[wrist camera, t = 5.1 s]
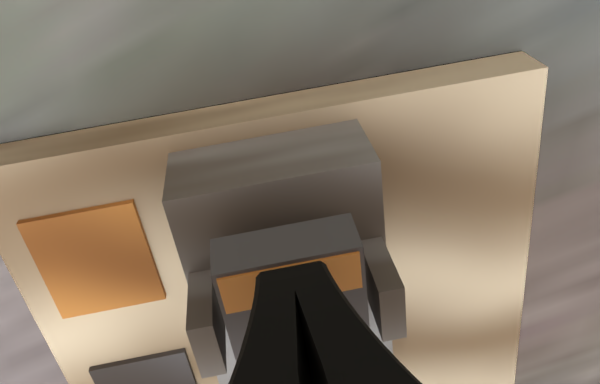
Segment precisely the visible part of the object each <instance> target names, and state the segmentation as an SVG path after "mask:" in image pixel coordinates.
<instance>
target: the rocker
mask: <svg viewBox="0 0 600 384" xmlns="http://www.w3.org/2000/svg"><path fill="white" fill-rule="evenodd" d="M315 261H322V262H323V263H325V264H326V265H327V268H328V270H329V271H330V273H331V275H332V277H333V278H334V280H335V282H336V283H337V285H338V286H339V288H340V289H341V291H342V292H343V294H344V295H345V297H346V298H347V299H348V301H349V302H350V304H351V305H352V306H353V308H354V309H355V310H356V312H357V313H358V314H359V315H360V317H361V318H362V319H363V320H364V321H365V323H366V324H367V325H368V326H369V328H370V325H369V312H368V299H367V286H366V274H365V261H364V248H363V244H362V241H361V239H360V236H359V233H358V231H357V228H356V225H355V223H354V220H353V217H352V215H351V213H346V214H340V215H335V216H330V217H325V218H319V219H314V220H309V221H304V222H298V223H293V224H288V225H283V226H277V227H272V228H267V229H261V230H256V231H251V232H246V233H240V234H235V235H230V236H225V237H219V238H214V239H210V270H211V279H212V282H213V286H214V289H215V292H216V296H217V299H218V303H219V306H220V309H221V313H222V316H223V319H224V323H225V326H226V330H227V333H228V336H229V340H230V343H231V346H232V350H233V353H234V356H235V360H236V362H237V359H238V356H239V353H240V349H241V346H242V342H243V339H244V336H245V332H246V329H247V325H248V321H249V317H250V313H251V308H252V304H253V298H254V292H255V282H256V277H257V275H258V274H259V273H260V272H263V271H268V270H273V269H278V268H284V267H289V266H294V265H299V264H304V263H310V262H315Z"/></svg>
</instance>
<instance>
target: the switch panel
mask: <svg viewBox="0 0 600 384" xmlns="http://www.w3.org/2000/svg"><path fill="white" fill-rule="evenodd" d="M547 74H548V67H547V66H545V65H544V64H542V63H541V62H539V61H537V60H536V59H534V58H533V57H531V56H529V55H528V54H526V53H525V52H523V51H519V52H514V53H508V54H503V55H497V56H491V57H486V58H480V59H475V60H469V61H463V62H458V63H452V64H447V65H441V66H435V67H430V68H424V69H418V70H413V71H407V72H402V73H396V74H390V75H385V76H379V77H374V78H368V79H362V80H357V81H351V82H346V83H340V84H334V85H329V86H323V87H318V88H312V89H306V90H301V91H295V92H290V93H284V94H278V95H273V96H267V97H261V98H256V99H250V100H245V101H239V102H233V103H228V104H222V105H217V106H211V107H205V108H200V109H194V110H189V111H183V112H177V113H172V114H166V115H161V116H155V117H149V118H144V119H138V120H133V121H127V122H121V123H116V124H110V125H104V126H99V127H93V128H88V129H82V130H76V131H71V132H65V133H60V134H54V135H48V136H43V137H37V138H32V139H26V140H20V141H15V142H9V143H4V144H0V255H1V257H2V259H3V261H4V263H5V265H6V266H7V268H8V270H9V272H10V274H11V276H12V278H13V280H14V282H15V283H16V285H17V287H18V289H19V291H20V293H21V295H22V297H23V298H24V300H25V302H26V304H27V306H28V308H29V310H30V312H31V314H32V315H33V317H34V319H35V321H36V323H37V325H38V327H39V329H40V331H41V332H42V334H43V336H44V338H45V340H46V342H47V344H48V346H49V348H50V349H51V351H52V353H53V355H54V357H55V359H56V361H57V363H58V364H59V366H60V368H61V370H62V372H63V374H64V376H65V378H66V380H67V381H68V383H69V384H228V383H229V381H230V378H231V375H232V373H233V370H234V367H235V364H236V360H235V356H234V353H233V350H232V346H231V343H230V340H229V336H228V333H227V330H226V326H225V323H224V319H223V316H222V313H221V309H220V306H219V303H218V299H217V296H216V292H215V289H214V286H213V282H212V279H211V270H210V239H214V238H219V237H225V236H230V235H235V234H240V233H246V232H251V231H256V230H261V229H267V228H272V227H277V226H283V225H288V224H293V223H298V222H304V221H309V220H314V219H319V218H325V217H330V216H335V215H340V214H346V213H351V215H352V217H353V220H354V223H355V225H356V228H357V231H358V233H359V236H360V239H361V241H362V244H363V248H364V261H365V274H366V286H367V299H368V312H369V325H370V329H371V330H372V331H373V332H374V334H375V335H376V336H377V337H378V338H379V339H380V341H381V342H382V343H383V344H384V345H385V346H386V347H387V348H388V349H389V350H390V351H391V353H392V354H393V355H394V356H395V357H396V358H397V359H398V360H399V361H400V362H401V363H402V364H403V365H404V366H405V367H406V368H407V369H408V370H409V371H410V372H411V373H412V374H413V375H414V376H415V377H416V378H417V379H418V380H419V381H420V382H421V383H422V384H514V382H515V372H516V363H517V354H518V344H519V335H520V326H521V316H522V307H523V298H524V288H525V279H526V270H527V260H528V251H529V242H530V232H531V223H532V214H533V204H534V195H535V186H536V176H537V167H538V158H539V149H540V139H541V130H542V121H543V111H544V102H545V93H546V83H547Z"/></svg>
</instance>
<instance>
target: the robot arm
mask: <svg viewBox="0 0 600 384" xmlns="http://www.w3.org/2000/svg"><path fill="white" fill-rule="evenodd" d="M228 384H422V383H421V382H420V381H419V380H418V379H417V378H416V377H415V376H414V375H413V374H412V373H411V372H410V371H409V370H408V369H407V368H406V367H405V366H404V365H403V364H402V363H401V362H400V361H399V360H398V359H397V358H396V357H395V356H394V355H393V354H392V353H391V351H390V350H389V349H388V348H387V347H386V346H385V345H384V344H383V343H382V342H381V341H380V339H379V338H378V337H377V336H376V335H375V334H374V332H373V331H372V330H371V329H370V328H369V326H368V325H367V324H366V323H365V321H364V320H363V319H362V318H361V317H360V315H359V314H358V313H357V312H356V310H355V309H354V308H353V306H352V305H351V304H350V302H349V301H348V299H347V298H346V297H345V295H344V294H343V292H342V291H341V289H340V288H339V286H338V285H337V283H336V282H335V280H334V278H333V277H332V275H331V273H330V271H329V270H328V268H327V265H326V264H325V263H323V262H322V261H315V262H310V263H304V264H299V265H294V266H289V267H284V268H278V269H273V270H268V271H263V272H260V273H259V274H258V275H257V277H256V282H255V292H254V298H253V304H252V308H251V313H250V317H249V321H248V325H247V329H246V332H245V336H244V339H243V342H242V346H241V349H240V353H239V356H238V359H237V362H236V364H235V367H234V370H233V373H232V375H231V378H230V381H229V383H228Z"/></svg>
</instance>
